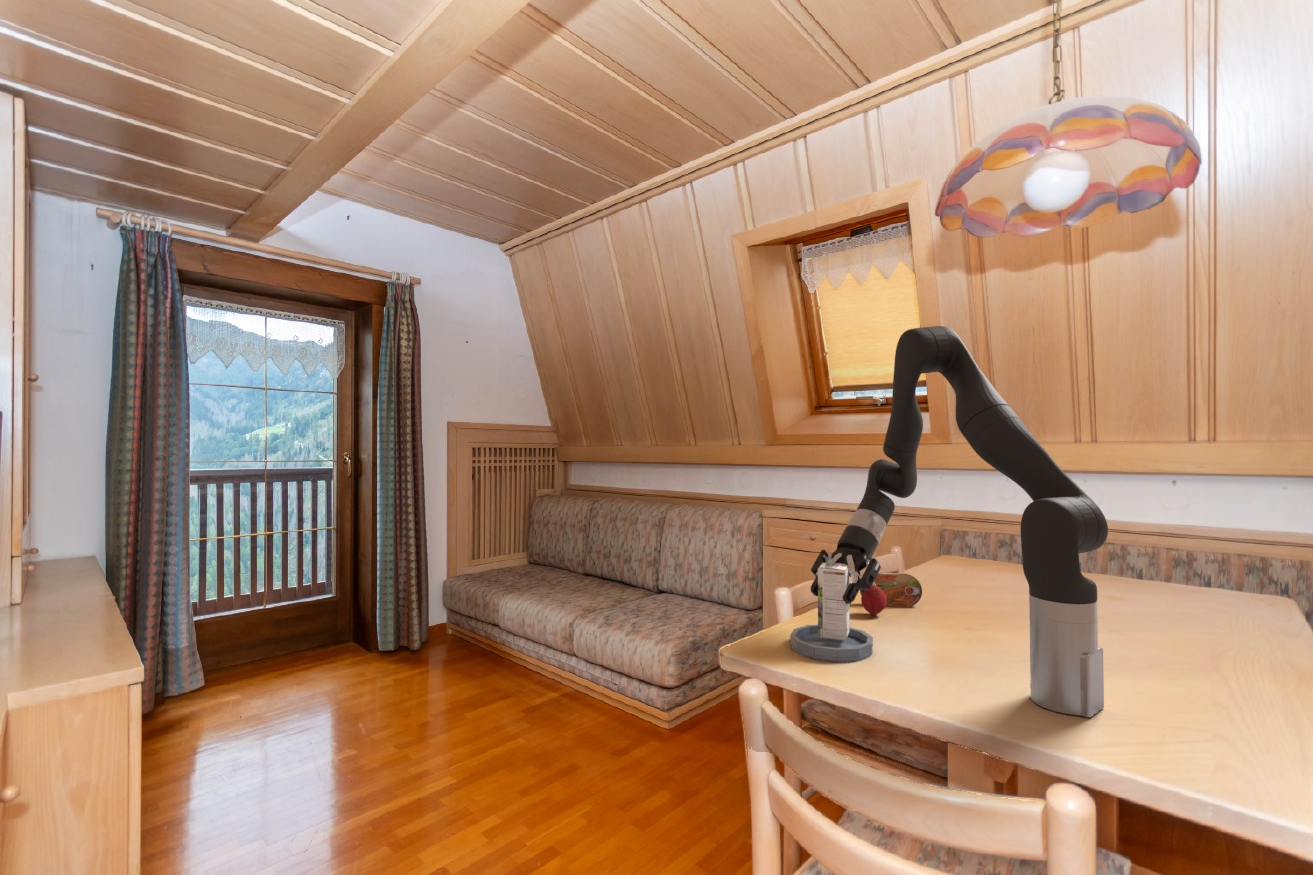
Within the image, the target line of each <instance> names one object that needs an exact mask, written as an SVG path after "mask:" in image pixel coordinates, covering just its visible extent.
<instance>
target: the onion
mask: <svg viewBox="0 0 1313 875" xmlns="http://www.w3.org/2000/svg"><path fill="white" fill-rule="evenodd" d="M860 596H861V595H860ZM860 601H861V605H862V607H863V609H864V610H865V611H866V612H868V613H869V614H870V615H871V616H875V617H876V616H877V615H878V614H880V613H881V612H883V610H884V609H885V608H886V607H885V606H886V603H887V599H886V596H885V594H884V592H883V591H882V590H881V589H880V588H878V587H877V586H876V583H873V585H872V587H871V588H870V589H866V590H865V591H864V592H863V594H862V596H861V598H860Z"/></svg>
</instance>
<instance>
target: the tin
mask: <svg viewBox="0 0 1313 875" xmlns="http://www.w3.org/2000/svg"><path fill="white" fill-rule="evenodd" d="M874 583H876V586H877V587H878V588H880V589H881V590H882V591H883V592H884V594H885V596H886V599H887V603H886V606H885V608H910V607H913V606H915V605H917V604H918V603H919V601H920V600H921V598H922V595H923V588H922V584H921V582H920V581H919V580H918V579H917V578H916V577H915V576H913V575H911V574H908V573H905V572H903V573H902V572H901V573H900V572H899V573H898V572H897V573H895V572H894V573H892V572H888V573H887V572H878V575H877V577H876V579H875V581H874ZM865 590H866V588H862V589H861V590H859V593H860V596H862V594H863V592H864V591H865Z"/></svg>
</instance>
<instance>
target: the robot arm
mask: <svg viewBox="0 0 1313 875" xmlns="http://www.w3.org/2000/svg"><path fill="white" fill-rule="evenodd" d="M974 359H975V358H973V356H972V354H971V353H970V350H968V348H967V346H966V345H965V343H964V341H962V339H961V337H960V336H959V335H958V334H957V332H955V331H954V330H953V329H952V328H950V327H949V326H945V325H934V326H925V327H924V326H923V327H915V328H910V329H907V330H905V331H904V332H902V334H901V335H900V337H899V338H898V341H897V343H896V348H895V356H894V363H893V364H894V366H893V378H892V379H893V380H892V397H891V398H892V399H891V408H890V409H891V410H890V416H889V422H888V426H887V429H886V434H885V436H884V437H885V438H884V441H883V447H882V451H883V453H884V455H885V456H886V458H889V459H890V460H892V461H893V462H892V461H890V460H888V459H887V460H886V459H884V458H883V459H882V458H881V459H877V460H875V461H874V462H873V463H872V464H871V465H870V467H869V469H868V473H867V482H866V486H865V491H864V493H863V494H864V495H863V496H862V499H861V500H860V503H859V505H858V506H857V508H856V510H855V512H854V514H852V515H851V518H850V519H849V521H848V523H847V524H846V526H845V528H844V529H843V531H842V534H841V535H840V537H839V539H838V540H837V545H836V549H835V550H834V551H833V552H827V550H826V549H821V550H820V552H819V554H818V556H817V558H816V559H815V561H814V563H813V564H812V566H811V567H810V568H811V569H810V571H811V573H812V574H813V575H814V577H815V578H814V580H813V582H812V583H811V585H810V593H812V595H813V597H814V596H815V597H818V568H819V567H820V566H821V564H822V563H841V564H846V565H848V567H849V578H850V579H851V580H850V581H851V582H849V586H848V587H847V589H846V591H845V593H844V595H843V600H844V601H845V603H846V604H850V605H851V604H852V603H853V602H854V601H855V600H856V597H857V595H858V594H859V593H860V590H861V589H862V588H866V589H870V588H871V587H872V585H873V583H874V581H875V579H876V577H877V575H878V573H880V570H881V568H882V566H881V565H880V563H879V562H878V560H877V559H876V558H875V557H874V554H875V552H876V550H877V548H878V547H879V545H880V542H881V540H882V539H883V536H884V534H885V530H886V529H887V528H886V527H887V525H888V523H890V519H891V518H892V516H893V514H894V511H895V508H896V505H895V503H894V501H893V499H891V497H890V496H888V495H887V494H889V495H891V496H894V497H897V498H899V499H900V498H901V499H906V498H908V497H910V496H911V495H912V494H914V493H915V490H916V488H917V484H918V472H917V452H918V449H919V445H920V443H921V442H920V441H921V438H922V434H923V431H924V430H923V429H924V419H923V415H922V412H921V409H920V407H919V403H918V400H917V394H916V390H917V385H918V382H919V380H920V377H921V374H929V373H939V374H941V375H942V377H944V378H945V379H946V381H947V382H948V383H949V385H950V386H951V388H952V390H953V392H954V394H955V421H956V425H957V428H958V430H959V431H960V433H961V435H962V436H963V438H965V440H966V441H967V443H968V444H969V446H970V447H971V448H972V450H973V451H974V453H976V455H977V456H978V457H980V458H981V459H982V461H984V462H985V463H986V464H988V465H990V466H991V467H992V468H993V469H995V470H997V471H998V472H999V473H1001V474H1002V475H1003V476H1005V477H1007V478H1008V479H1010V480H1012V482H1014V483H1015V484H1017V485H1018V486H1019V487H1020V488H1021V489H1022V490H1024V491H1025V493H1026V494H1027V495H1028V496H1029V498H1030V499H1031V500H1032V502H1030V503H1029V504H1028V505H1026V507H1025V509H1024V511H1023V513H1022V515H1021V521H1020V545H1021V546H1020V547H1021V560H1022V571H1023V574H1024V577H1025V579H1026V582H1027V584H1028V599H1029V600H1028V602H1029V604H1028V605H1029V606H1028V607H1029V610H1028V611H1029V613H1028V614H1029V616H1028V617H1029V673H1030V680H1029V681H1030V682H1029V685H1030V688H1029V689H1030V698H1031V701H1032V702H1034V703H1035V704H1037V705H1039V706H1040V707H1042V708H1045V709H1047V710H1050V711H1052V712H1057V713H1059V714H1060V713H1061V714H1066V715H1070V716H1081V717H1085V718H1088V717H1091V718H1092V717H1093V716H1095V715H1096V714H1097V713H1099V712H1100V711H1102V709H1104V708H1105V692H1104V691H1105V688H1104V686H1105V685H1104V684H1105V683H1104V682H1105V681H1104V678H1105V677H1104V676H1105V675H1104V648H1103V647H1102V646H1099V636H1098V635H1099V630H1098V629H1099V626H1098V625H1099V624H1098V623H1099V621H1098V619H1099V616H1098V615H1099V614H1098V610H1099V609H1098V587H1097V584H1096V582H1095V581H1093V580H1092V579H1091V578H1088V577H1085V575H1083V573H1082V572H1081V566H1080V554H1083V553H1089V552H1094V551H1096V550H1098V549H1100V548H1101V547H1103V545H1104V544H1105V543H1106V541H1107V539H1108V534H1109V527H1108V522H1107V519H1106V517H1105V516H1106V515H1104V513H1103V511H1102V510H1101V508H1100V507H1099V506H1098V505H1097V504H1096V502H1095V501H1094V499H1092V498H1091V497H1090V496H1089V495H1087V494H1086V492H1085V491H1084V490H1083V489H1082V488H1080V486H1078V484H1077V483H1076V482H1074V480H1072V479H1071V477H1070V476H1069V475H1067V473H1065V472H1064V470H1063V469H1062V468H1060V467H1059V465H1058V464H1057V463H1056V462H1055V461H1054V460H1053V458H1052V457H1051V456H1050V454H1049V453H1048V452H1047V450H1045V448H1044V447H1043V446H1042V445H1041V443H1040V442H1039V441H1038V440H1037V438H1036V437H1035V436H1034V435H1033V434H1032V433H1031V431H1030V430H1029V429H1028V428H1027V426H1026V425H1025V424H1024V422H1023V421H1022V419H1021V418H1020V417H1019V416H1018V415H1017V413H1016V412H1015V411H1014V410H1013V408H1012V407H1011V406H1010V404H1009V403H1008V402H1006V400H1005V399H1004V398H1003V397H1002V396H1001V395H1000V393H999V392H998V391H997V390H996V388H995V387H994V386H993V384H992V383H991V382H990V380H989V379H988V378H987V377H986V375H985V374H984V372H982V370H981V369H980V367H979V366H978V364H977V363H976V361H975V360H974ZM885 493H886V494H885ZM864 569H865V570H864ZM863 570H864V572H863V574H862V573H861V572H862V571H863ZM1099 710H1100V711H1099ZM1098 711H1099V712H1098ZM1094 714H1095V715H1094Z"/></svg>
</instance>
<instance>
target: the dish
mask: <svg viewBox="0 0 1313 875" xmlns="http://www.w3.org/2000/svg"><path fill="white" fill-rule="evenodd" d="M789 638H790V639H789V640H790V642H789V643H790V644H791V648H792V650H793V651H794V652H795V653H796V654H798V653H799V654H798V655H800V656H802V657H806V658H808V659H811V660H816V661H822V662H827V663H828V662H829V663H851V662H852V663H853V662H859V661H863V660H866V659H868V658H870V657H871V656H872V655H873V647H874V637H873V636H872V635H871V634H869V633H867V632H866V631H864V630H861V629H858V628H855V627H851V626H850V632H849V634H848V637H847V640H840V639H829V638H820V637H818V624H806V625H803V626H800V627H796V628H793V630H792V631H791V633H790V635H789Z"/></svg>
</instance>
